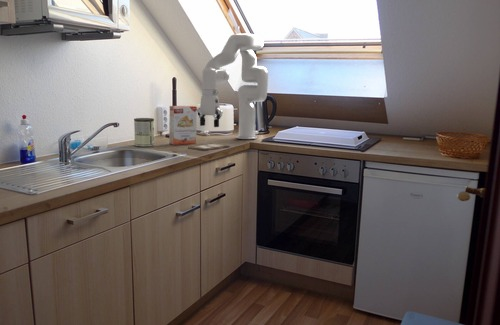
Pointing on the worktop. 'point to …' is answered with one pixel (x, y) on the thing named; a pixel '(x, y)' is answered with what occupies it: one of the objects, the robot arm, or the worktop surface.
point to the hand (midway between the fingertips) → (209, 126)
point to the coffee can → (144, 131)
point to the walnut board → (208, 147)
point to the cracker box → (182, 125)
